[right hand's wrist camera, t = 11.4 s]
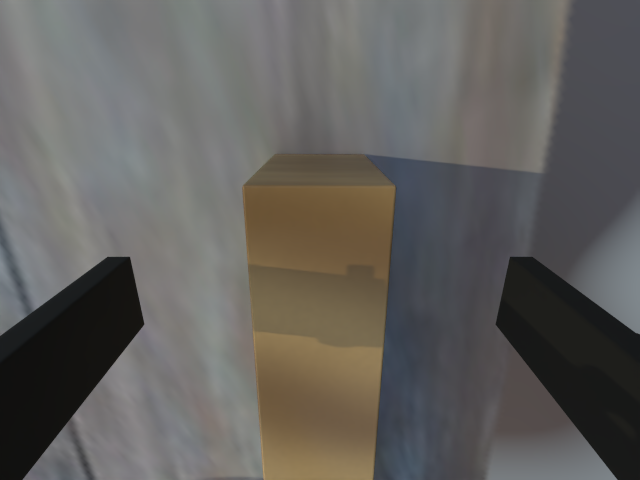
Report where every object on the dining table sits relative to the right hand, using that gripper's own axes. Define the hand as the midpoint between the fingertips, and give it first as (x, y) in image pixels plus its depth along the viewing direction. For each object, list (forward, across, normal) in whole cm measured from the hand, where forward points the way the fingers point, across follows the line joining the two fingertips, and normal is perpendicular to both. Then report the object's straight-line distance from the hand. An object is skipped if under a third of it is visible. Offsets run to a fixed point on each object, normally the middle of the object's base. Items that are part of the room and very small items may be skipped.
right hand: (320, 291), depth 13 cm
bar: (+8, 0, -31) cm, 32 cm away
